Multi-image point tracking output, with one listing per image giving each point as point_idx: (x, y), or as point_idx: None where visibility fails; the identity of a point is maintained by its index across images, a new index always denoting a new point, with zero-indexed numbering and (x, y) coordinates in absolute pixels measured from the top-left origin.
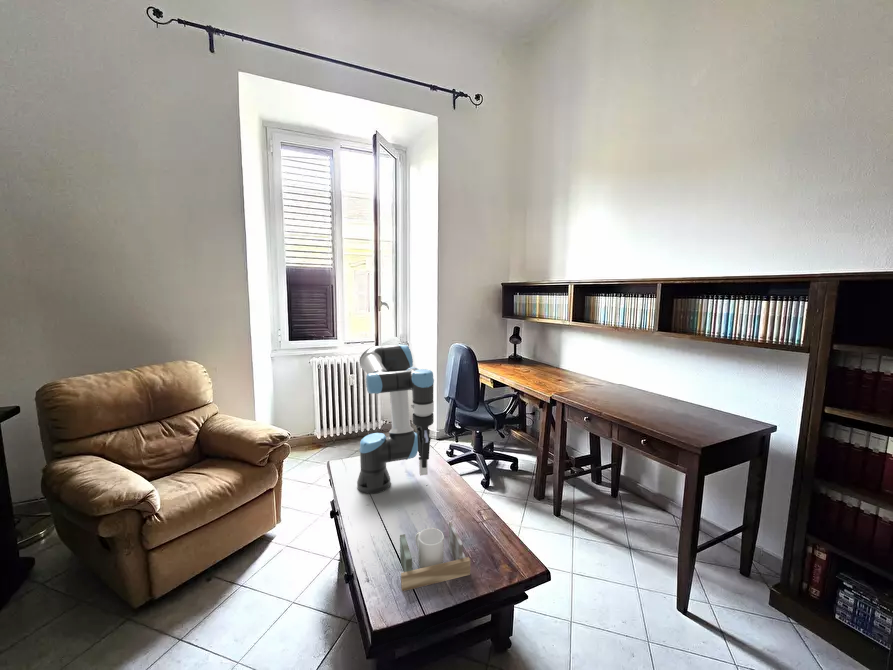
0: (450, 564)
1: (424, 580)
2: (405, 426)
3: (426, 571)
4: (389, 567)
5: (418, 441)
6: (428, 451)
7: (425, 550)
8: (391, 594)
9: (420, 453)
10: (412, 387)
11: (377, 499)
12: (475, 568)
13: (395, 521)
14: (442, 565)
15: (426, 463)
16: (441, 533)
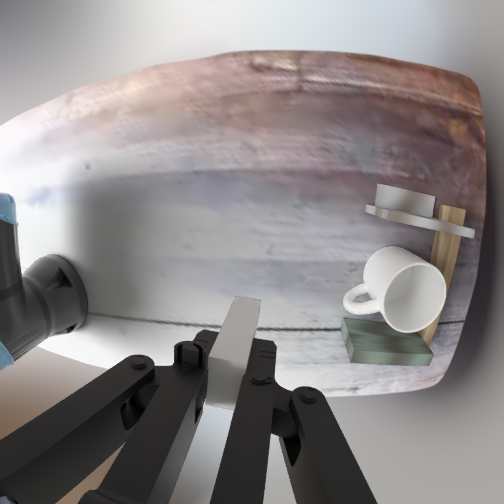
0: (454, 259)
1: None
2: None
3: (440, 313)
4: None
5: (99, 461)
6: (354, 469)
7: (424, 315)
8: None
9: (197, 418)
10: None
11: (108, 306)
12: (439, 186)
13: (203, 298)
14: (448, 277)
15: (252, 344)
16: (417, 264)
